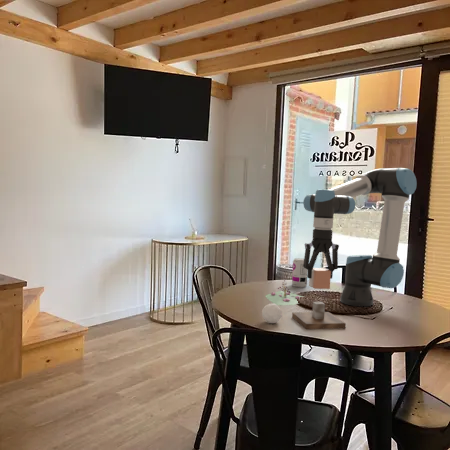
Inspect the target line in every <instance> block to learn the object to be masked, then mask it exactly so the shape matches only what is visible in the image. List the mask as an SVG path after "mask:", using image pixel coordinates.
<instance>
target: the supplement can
mask: <svg viewBox="0 0 450 450" xmlns="http://www.w3.org/2000/svg"><path fill="white" fill-rule="evenodd" d="M303 264H304V258H300V257H298V258H297V257H296V258H294V259H293V261H292V278H291V286H293V287H295V288H296V287H297V288H306V287H307V286H308V277H307V275H308V270H307V269H306V268H304V267H303Z"/></svg>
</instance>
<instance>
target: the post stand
mask: <svg viewBox="0 0 450 450" xmlns="http://www.w3.org/2000/svg"><path fill="white" fill-rule="evenodd" d="M325 306H326V304H325V303H324V302H323V301H312V311H309V312H307V311H302V312H301V311H299V312H298V311H296V312H292V311H291V312H292V313H291V315H292V316H291V318H292V319H294V320H295V321H296V322H297V323H299V324H300V325H301V327H303V328H304V329H306V330H326V329H329V330H331V329H346V327H347V326H346V325H347V324H346V322H344V320H341V319H340V318H338V317H337V316H336V315H334V314H333V313H331V312H329V311H325V310H326V309H325V308H326V307H325Z"/></svg>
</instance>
